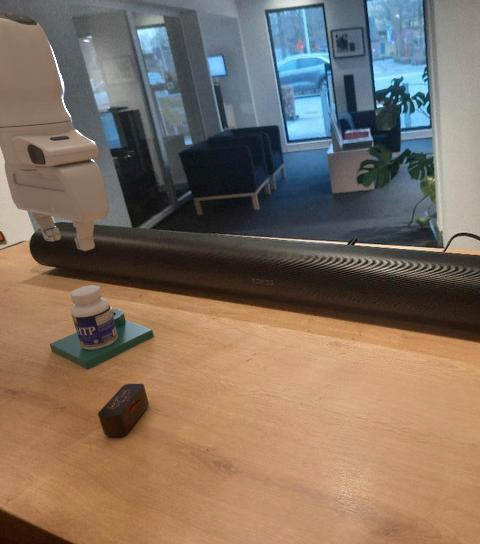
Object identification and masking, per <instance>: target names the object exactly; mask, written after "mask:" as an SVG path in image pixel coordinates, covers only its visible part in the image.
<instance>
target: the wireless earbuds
mask: <svg viewBox="0 0 480 544" xmlns="http://www.w3.org/2000/svg"><path fill="white" fill-rule="evenodd" d="M149 403H150V402H149V399H148V395H147V391H146V387H145V384H144V383H126V384H125V383H124V385H122V386H121V387H120V388H119V390H118V391H116V393H115V394H114V395H113V396H112V397H111V398H110V399H109V400H108V401H107V402H106V403H105V404H104V406H103V407H102V408H101V409H100V410H99V411H98V413H97V416H98V419H99V423H100V426H101V429H102V432H103V434H104V436H106V437H124V436H125V435H127V433H128V432H129V431H130V430H131V428H132V427H133V426H134V425H135V423H136V422H137V420H139V418H140V417H141V416H142V414H143V413H144V412H145V410H146V409H147V408H148V407H149Z"/></svg>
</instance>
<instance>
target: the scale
mask: <svg viewBox="0 0 480 544" xmlns="http://www.w3.org/2000/svg"><path fill="white" fill-rule="evenodd" d="M112 309H113V313H114V317H113V320H114V323H115V327H116V330H117V334H118V338H117V340H116V341H115V342H114V343H112V344H111V345H109V346H107V347H104V348H101V349H96V350H87V349H84V348H82V347H81V344H80V341H79V338H78V335H77V331H75V332H73V333H71V334H69V335H67V336H64V337H63V338H60V339H58V340H55V341H53V342H51V343H49V347H50V350H51V352H52V353H54V354H56V355H58V356H60V357H62V358H64V359H66V360H67V361H70V362H72V363H74V364H76V365H78V366H79V367H82V368H84V369H86V370H90V369H92V368H94V367H96V366H98V365H101V364H103V363H105V362H106V361H108V360H110V359H112V358H115V357H116V356H119V355H120V354H122V353H125V352H126V351H128V350H131V349H133V348H134V347H137V346H138V345H140V344H142V343H144V342H147V341H149V340H150V339H153V338H154V337H155V334H154V330H153V329H152V328H149V327H146V326H143V325H141V324H138V323H136V322H133V321H130V320H127V319H126V316H125V311H124V310H123V309H119V308H112Z"/></svg>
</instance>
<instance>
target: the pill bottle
mask: <svg viewBox="0 0 480 544" xmlns="http://www.w3.org/2000/svg"><path fill="white" fill-rule="evenodd" d="M70 299H71V301H72V303H73V305H72V307H71V309H70V315H71V318H72V322H73V325H74V328H75V332H77V335H78V338H79V341H80V344H81V347H82V348H84V349H87V350H96V349H101V348H104V347H107V346H109V345H111V344H112V343H114V342H115V341H116V340H117V338H118V334H117V330H116V327H115V323H114V320H113V316H112V312H111V309H110V307H111V305H110V302H109V301H108V300H107V299H106V298H103V293H102V290H101V287H100V286H99V285H97V284H96V285H95V284H94V285H93V284H92V285H84V286H81V287H78V288H75V289H74V290H72V291H71V292H70Z"/></svg>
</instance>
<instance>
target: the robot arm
mask: <svg viewBox="0 0 480 544" xmlns="http://www.w3.org/2000/svg"><path fill="white" fill-rule="evenodd" d="M64 96H65V84H64V80H63V77H62V74H61V73H60V69H59V66H58V63H57V59H56V57H55V54H54V51H53V48H52V46H51V43H50V41H49V38H48V36H47V34H46V33H45V31H44V29H43V27H42V26H41V24H40V23H39V22H38V21H37V20H35V19H33V18H32V17H30V16H28V15H25V14H20V13H19V14H18V13H11V12H2V11H0V150H1V154H2V157H3V160H4V171H5V172H4V173H5V177H6V181H7V184H8V189H9V192H10V196H11V200H12V201H13V204H14V205H15V207H16V208H17V209H18V210H21V211H26V212H30V213H31V215H32V218H33V220H34V222H35V224H36V225H37V227H39V229H40V231H41V233H42V237H43V239H44V241H47V242H51V243H52V242H55V241H59V240H61V238H62V234H61V231H60V228H59V227H57V226H56V224H55V222H54V219H53V217H54V218H59V219H63V220H69V221H71V222H72V226H73V228H75V232H76V233H75V234H76V237H74V242H75V243H74V244H75V246H76V248H77V250H80V251H84V252H87V251H91V250H93V249H94V248H95V246H96V244H95V241H94V237H93V236H94V231H95V221H98V220H102V219H105V218H107V216H108V213H109V207H110V206H109V200H108V194H107V191H106V186H105V181H104V178H103V174H102V171H101V168H100V166H99V164H98V163H97V162H96V161H95V160H97V159H99V158H100V153H99V148H98V146H97V144H96V142H95V141H93V140H92V139H89V137H87V136H85V135H83V134H82V133H81V132H80V131H79V130H77V129H75V127H74V122H73V119H72V116H71V114H70V113H69V111H68V109H67V108H66V105H65V102H64Z"/></svg>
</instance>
